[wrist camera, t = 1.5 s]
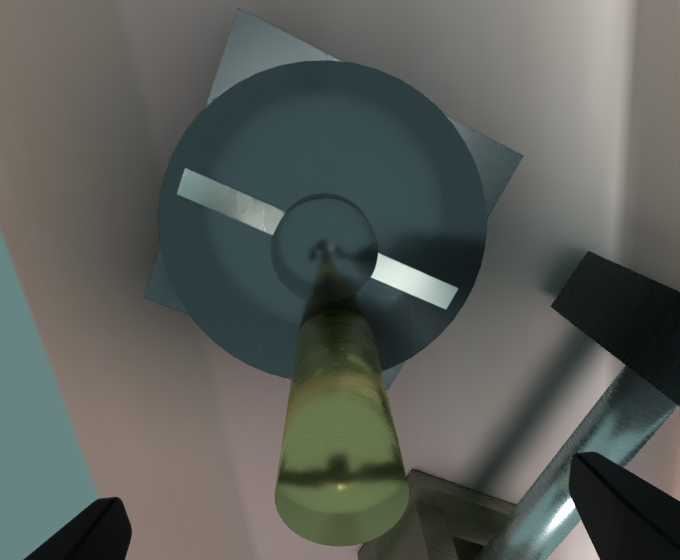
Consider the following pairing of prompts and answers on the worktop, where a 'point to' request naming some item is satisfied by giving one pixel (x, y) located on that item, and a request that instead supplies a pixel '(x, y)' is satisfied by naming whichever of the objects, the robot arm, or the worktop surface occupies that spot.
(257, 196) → the handwheel
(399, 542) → the grey-green hollow piece
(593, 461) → the robot arm
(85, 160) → the worktop surface
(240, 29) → the wheel base
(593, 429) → the block-headed metal hammer
